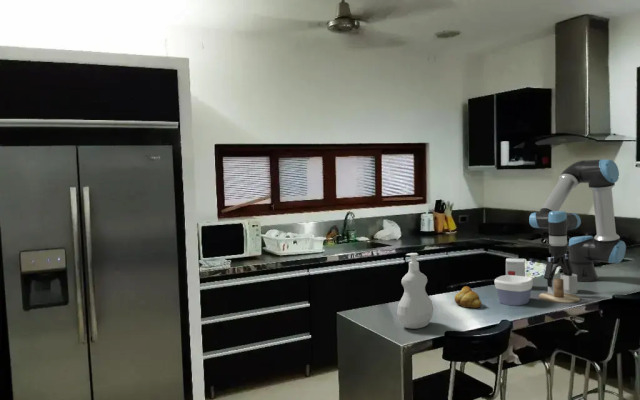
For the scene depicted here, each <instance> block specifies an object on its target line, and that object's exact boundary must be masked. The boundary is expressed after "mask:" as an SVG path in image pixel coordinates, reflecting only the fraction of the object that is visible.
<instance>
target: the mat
mask: <svg viewBox="0 0 640 400" xmlns="http://www.w3.org/2000/svg"><path fill="white" fill-rule="evenodd" d="M542 293H548V290H547V291H543V292H541V293H540V292H539V293H536V294H532V295H530V298H529V299H531V300H532V299H533V300H538V301H542V302H546V303H551V304H556V305H560V306H565V307H570V308H571V307H574V306H578V305H581V304H584V303H587V302H591V301H593V300H594V299H592V298H587V297H582V296H579V297H580V301H578V302H574V303H555V302H548V301H544V300H541V299H540V298H539V295H540V294H542Z"/></svg>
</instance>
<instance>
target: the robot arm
mask: <svg viewBox="0 0 640 400" xmlns="http://www.w3.org/2000/svg"><path fill="white" fill-rule="evenodd" d="M619 176H620V171H619V168H618V165H617V163H616V162H615V161H614V160H612V159H604V158H602V159H601V158H600V159H590V160H589V159H588V160H579V161H576V162H574V163H571V164H570V165H569V166H568V167H566V168H565V169H564V170H563V171H562V172H561V174H560V175H559V176H558V181H557V183H556V185H555V187H554V188H553V189H552V191H551V192H550V194H549V196H548V197H547V199H546V200H545V202H544V203H543V205H542V206H541V208H540V210H539V211H538V212H536V211H535V212H532V213H530V215H529V219H528V220H529V221H528V222H529V225H530V226H531V227H532V228H535V229H548V243H549V245H548V252H549V254H551V257H546V265H545V270H544V276H543V279H545V280H547V291H548V293H549V294H554V277H555V274H556V272H557V268H559V266H560V268H561V269H560V270H562V272H563V273H562V274H564V275H563V281H564V289H565V290H570V276H572V274H576V275H577V282H595V281H598V273H597V270H596V268H595V265H594V262H599V263H609V264H620V263H621V262H622V261H623V259H624V257H625V255H626V249H627V245H626V243H625V241H623V240H621V237H620V235H619V234H618V233H617V229H616V222H615V220H616V219H615V208H614V201H613V200H614V198H613V190H612V189H613V187H615V186H616V185H615V184H616V182H618V181H619ZM587 183H588V188H589V189H590V190H591V191H592V199H593V208H594V209H593V210H594V218H595V219H594V221H595V229H596V235H595V236H593V235H581V236H573V237H572V236H571V237H570V238H569V240H568V231H571V230H572V231H573V230H576V229H577V228H579V227H580V225H581V224H582V221H581V217H580V216H579V214H577V213H573V212H572V213H570V212H569V213H567V212H566V211H564V210H561V208H562V207H563V204H564V203H565V202H566V200H567V198H568V197H569V195H570V194H571V192H572V191H573V189H575V188H576V187H577V186H578V185H580V184H587ZM567 244H568V246H567Z"/></svg>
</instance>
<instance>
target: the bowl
mask: <svg viewBox="0 0 640 400" xmlns="http://www.w3.org/2000/svg"><path fill="white" fill-rule="evenodd" d="M493 281H494V286H495V289H496V292H497V297H498V301H499V303H500V304H502V305H507V306H514V307H519V306H522V305H527V304H529V302H530V299H531V298H530V296H531V292H532V290H533V289H532V288H533V285H534V278H532V277H529V276H525V277H524V276H514V275H506V274H505V275H500V276H498V277H496V278H495V279H494V280H493Z"/></svg>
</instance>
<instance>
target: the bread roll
mask: <svg viewBox="0 0 640 400" xmlns="http://www.w3.org/2000/svg"><path fill="white" fill-rule="evenodd" d="M454 302H455V304H456V305H458V306H461V307H463V308H473V309H474V308H475V309H478V308H480V307H481V306H482V301H481V300H480V295H478V293H477V292H475V291H473V289H472V288H471V287H469V286H467V285H466V286H463V287H462V288H461V291H459V292H457V293H456V294H455V296H454Z"/></svg>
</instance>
